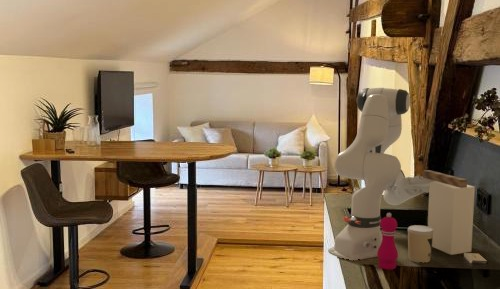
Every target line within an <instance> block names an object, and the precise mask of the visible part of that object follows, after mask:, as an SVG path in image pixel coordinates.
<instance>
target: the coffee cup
mask: <svg viewBox="0 0 500 289" xmlns="http://www.w3.org/2000/svg"><path fill="white" fill-rule="evenodd" d="M433 233H434V231H433V229H432V228H431V227H428V225H421V224H419V225H418V224H417V225H416V224H414V225H410V226H408V227H407V248H408V249H407V250H408V259H409V260H410V261H411V262H414V263H419V262H423V264H424V262H426V263H428V262H430V261H431V258H432V257H431V256H432V248H433V247H432V240H433Z"/></svg>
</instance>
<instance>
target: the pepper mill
mask: <svg viewBox="0 0 500 289" xmlns="http://www.w3.org/2000/svg"><path fill="white" fill-rule="evenodd" d="M397 228H398V222H397V220H396V218H394V217H392V213H391V212H387V213H386V216H384V217H383V218H382V217H381V221H380V231H381V236H382V243H381V245H380V247H379V249H378V253H377V256H378V259H379V260H378V262H377V263H378V264H377V265H378V267H379V268H380V269H383V270H394V269H396V268H397V259H398V257H399V252H398V250H397V247H396V244H395V235H396V232H397V231H396V230H397Z"/></svg>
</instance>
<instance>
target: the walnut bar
mask: <svg viewBox="0 0 500 289" xmlns="http://www.w3.org/2000/svg"><path fill="white" fill-rule="evenodd" d="M422 177H423V178H426V179H430V180H434V181H437V182H441V183H445V184H449V185H452V186H456V187H460V188H463V187H467V185H468V179H467V178H463V177H459V176H454V175H450V174H446V173H442V172H439V171H436V170H435V171H434V170H429V169H428V170H427V169H425V170H423V171H422Z"/></svg>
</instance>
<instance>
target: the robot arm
mask: <svg viewBox="0 0 500 289" xmlns="http://www.w3.org/2000/svg"><path fill="white" fill-rule="evenodd" d="M411 101H412V100H411V97H410V94H409V92H408V91H407V90H405V89H402V88H399V89H397V88H396V89H395V88H389V87H388V88H385V87H374V88H372V87H371V88H369V87H367V88H362V89H360V90H359V91H358V94H357V96H356V104H357V109H358V110H359V111H360V112H361V114H360V119H359V120H360V121H359V127H358V129H357V134H356V136H355V138H354V140H353V142H352V143H351V144H350V145H349V146H348V147H347V148H346V149H345V150H342V151H340V152H339V153H338V155H336V157H335V160H334V163H333V164H334V170H335V172H336V174H337V175H338V176H339V177H343V178H346V179H350V180H351V179H352V180H358V181H359V180H360V181H364V185H365V186H364V187H362V188H359V189H358V190H355V191H354V192H353V193H352V195H351V206H350V207H351V212H350V214H349V216H344V217H343V222H346V223H347V225H346V226H345V227H343V228H342V230H341V231H340V232H339V233H338V234H337V235H336V236H335V239H334V246H332V247H330V248H328V250H327V252H328V253H329V254H330V255H332V256H334V257H336V258H340V259H342V258H344V259H343V260H346V259H349V260H348V261H353V260H354V261H359V260H358V259H360V260H365V259H372V258H376V257H378V256H377V253H378V249H379V247H380V245H381V243H382V234H381V232H382V231H381V226H380V221H381V219H382V216H381V202H382V196H383V200H384V202H385V203H386V204H388V205H390V206H399V205H401V204H403V203H405V202H407V201H408V200H411V199H412V198H414V197H415V198H416V197H417V196H420V195H423V194H429V186H430V182H434V180H430V179H426V178H423V176H421V175H416V176H405V172H404V171H403V170H402V164H401V161H400V160H399V158H398V157H397V156H396V155H392V154H388V153H385V152H386V151H387V149H388V148H390V147H391V145H393V144H394V143H395V142H396V141H398V139H399V138H400V137H401V134H402V128H403V125H402V122H403V121H402V115H405V114H406V113H407V112H409V110H410V109H409V108H410V106H411Z"/></svg>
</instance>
